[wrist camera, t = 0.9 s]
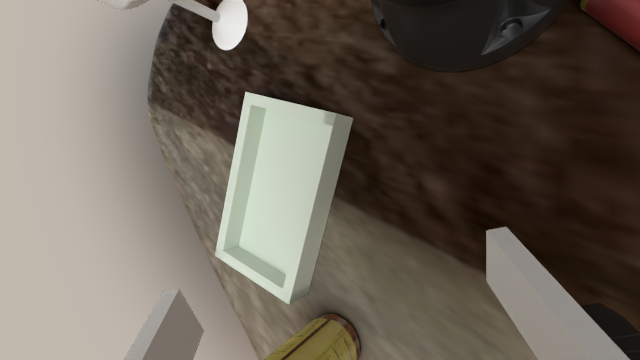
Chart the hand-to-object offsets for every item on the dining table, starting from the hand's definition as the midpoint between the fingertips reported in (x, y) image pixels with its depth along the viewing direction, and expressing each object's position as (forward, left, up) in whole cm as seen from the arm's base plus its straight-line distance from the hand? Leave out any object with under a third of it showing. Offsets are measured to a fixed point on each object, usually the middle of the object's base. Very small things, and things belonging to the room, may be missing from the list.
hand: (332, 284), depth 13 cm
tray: (+3, -16, -17) cm, 24 cm away
